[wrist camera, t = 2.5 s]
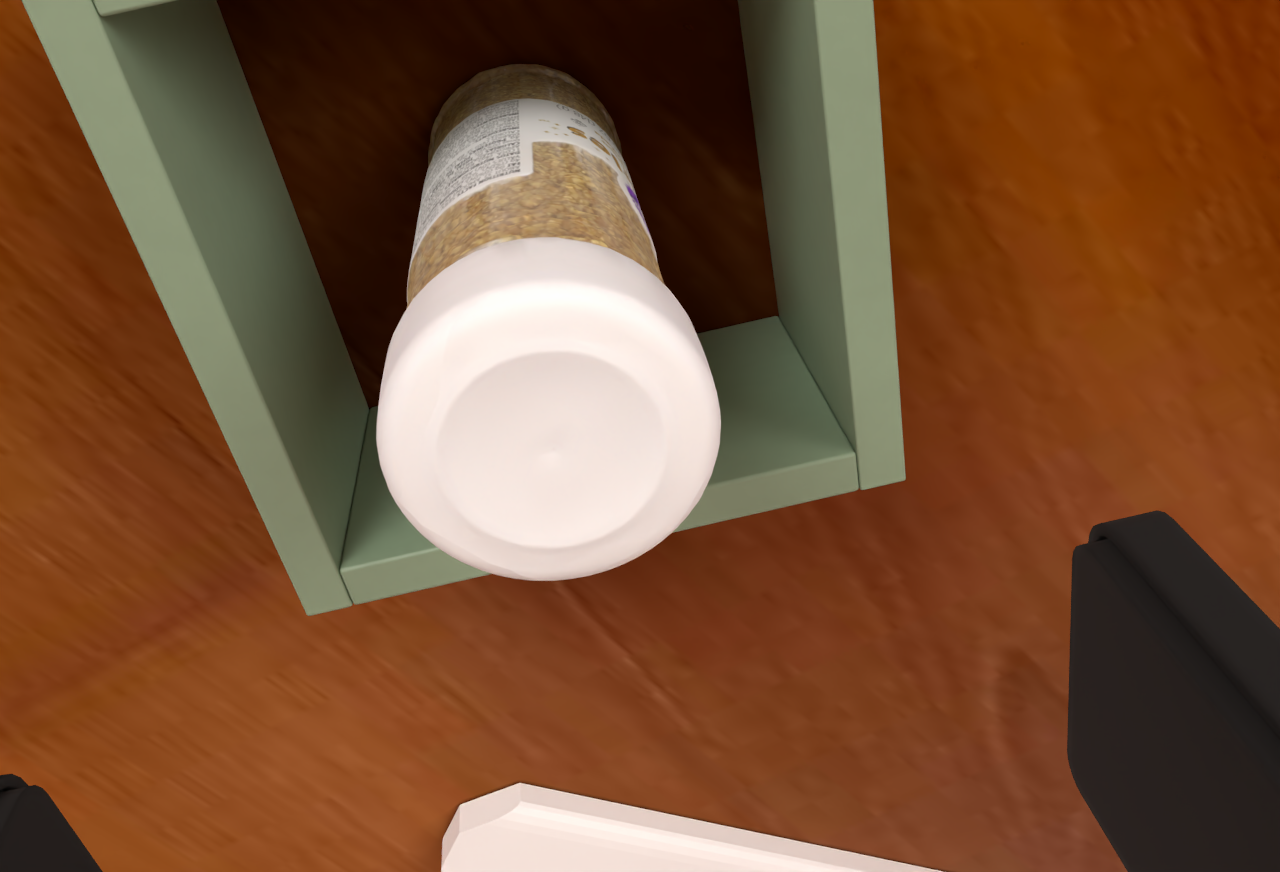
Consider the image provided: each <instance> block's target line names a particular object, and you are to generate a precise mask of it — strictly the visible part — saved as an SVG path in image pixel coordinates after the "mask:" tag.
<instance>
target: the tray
mask: <svg viewBox="0 0 1280 872" xmlns="http://www.w3.org/2000/svg"><path fill="white" fill-rule="evenodd" d="M441 872H943V871H938V870H934V869H929V868H924V867H919V866H915V865H910V864H905V863H900V862H895V861H891V860H886V859H881V858H876V857H872V856H867V855H862V854H857V853H852V852H848V851H843V850H838V849H833V848H829V847H824V846H819V845H814V844H810V843H805V842H800V841H795V840H790V839H786V838H781V837H776V836H771V835H767V834H762V833H757V832H752V831H748V830H743V829H738V828H733V827H728V826H724V825H719V824H714V823H709V822H705V821H700V820H695V819H690V818H685V817H681V816H676V815H671V814H666V813H662V812H657V811H652V810H647V809H643V808H638V807H633V806H628V805H623V804H619V803H614V802H609V801H604V800H600V799H595V798H590V797H585V796H581V795H576V794H571V793H566V792H561V791H557V790H552V789H547V788H542V787H538V786H533V785H528V784H523V783H518V784H515V785H512V786H510V787H507V788H504V789H501V790H499V791H496V792H493V793H490V794H488V795H485V796H482V797H479V798H477V799H474V800H471V801H469V802H466V803H463V804H460V806H459V808H458V810H457V811H456V813H455V815H454V817H453V819H452V821H451V823H450V825H449V827H448V829H447V831H446V833H445V835H444V837H443V841H442V866H441Z"/></svg>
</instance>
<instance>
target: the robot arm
mask: <svg viewBox="0 0 1280 872" xmlns="http://www.w3.org/2000/svg"><path fill="white" fill-rule="evenodd" d="M1067 752H1068V760H1069V765H1070V769H1071V772H1072V775H1073V778H1074V780H1075V783H1076V785H1077V787H1078V789H1079V791H1080V793H1081V795H1082V796H1083V798H1084V800H1085V801H1086V803H1087V805H1088V806H1089V808H1090V810H1091V811H1092V813H1093V815H1094V816H1095V818H1096V820H1097V821H1098V823H1099V825H1100V826H1101V828H1102V830H1103V831H1104V833H1105V835H1106V836H1107V838H1108V840H1109V841H1110V843H1111V845H1112V846H1113V848H1114V850H1115V851H1116V853H1117V854H1118V856H1119V858H1120V859H1121V861H1122V863H1123V864H1124V866H1125V868H1126V869H1127V871H1128V872H1280V629H1279V628H1278V627H1277V626H1276V625H1275V624H1274V623H1273V622H1272V621H1271V620H1270V619H1269V617H1268V616H1267V615H1266V614H1265V613H1264V612H1263V611H1262V610H1261V609H1260V608H1259V607H1258V606H1257V605H1256V604H1255V603H1254V602H1253V601H1252V600H1251V599H1250V598H1249V597H1248V596H1247V595H1246V594H1245V593H1244V592H1243V591H1242V590H1241V589H1240V588H1239V586H1238V585H1237V584H1236V583H1235V582H1234V581H1233V580H1232V579H1231V578H1230V577H1229V576H1228V575H1227V574H1226V573H1225V572H1224V571H1223V570H1222V569H1221V568H1220V567H1219V566H1218V565H1217V564H1216V563H1215V562H1214V561H1213V560H1212V559H1211V558H1210V557H1209V555H1208V554H1207V553H1206V552H1205V551H1204V550H1203V549H1202V548H1201V547H1200V546H1199V545H1198V544H1197V543H1196V542H1195V541H1194V540H1193V539H1192V538H1191V537H1190V536H1189V535H1188V534H1187V533H1186V532H1185V531H1184V530H1183V529H1182V528H1181V527H1180V526H1179V524H1178V523H1177V522H1176V521H1175V520H1174V519H1172V518H1171V517H1170V516H1169V515H1167V514H1166V513H1165V512H1161V511H1153V512H1149V513H1144V514H1140V515H1136V516H1131V517H1127V518H1122V519H1118V520H1114V521H1109V522H1105V523H1101V524H1098V525H1095V526H1093V528H1092V530H1091V532H1090V535H1089V541H1088V543H1087V544H1083V545H1079V546H1077V547H1076V548H1075V550H1074V551H1073V558H1072V592H1071V629H1070V667H1069V705H1068V742H1067ZM0 872H102V870H101V869H100V867H99V866H98V865H97V863H96V862H95V860H94V859H93V858H92V856H91V855H90V853H89V852H88V850H87V849H86V848H85V846H84V845H83V843H82V842H81V840H80V839H79V838H78V836H77V835H76V833H75V832H74V830H73V829H72V828H71V826H70V825H69V823H68V822H67V821H66V819H65V818H64V816H63V815H62V813H61V812H60V811H59V809H58V808H57V806H56V805H55V803H54V802H53V801H52V799H51V798H50V796H49V795H48V794H47V793H46V792H45V790H44V789H43V788H41V787H39V786H36V785H33V786H28V785H27V784H26V783H25V782H24V781H23V780H22V778H20V777H18V776H15V775H13V774H7V775H0Z"/></svg>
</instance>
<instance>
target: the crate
mask: <svg viewBox="0 0 1280 872" xmlns="http://www.w3.org/2000/svg"><path fill="white" fill-rule="evenodd" d="M22 2H23V4H24V7H25V9H26V11H27V13H28V15H29V17H30V19H31V22H32V24H33V26H34V28H35V30H36V32H37V35H38V37H39V39H40V41H41V43H42V45H43V47H44V50H45V52H46V54H47V56H48V58H49V60H50V63H51V65H52V67H53V69H54V71H55V73H56V75H57V78H58V80H59V82H60V84H61V86H62V88H63V91H64V93H65V95H66V97H67V99H68V101H69V103H70V106H71V108H72V110H73V112H74V114H75V116H76V119H77V121H78V123H79V125H80V127H81V129H82V131H83V134H84V136H85V138H86V140H87V142H88V144H89V147H90V149H91V151H92V153H93V155H94V157H95V159H96V162H97V164H98V166H99V168H100V170H101V172H102V175H103V177H104V179H105V181H106V183H107V185H108V187H109V190H110V192H111V194H112V196H113V198H114V200H115V203H116V205H117V207H118V209H119V211H120V213H121V215H122V218H123V220H124V222H125V224H126V226H127V228H128V231H129V233H130V235H131V237H132V239H133V241H134V243H135V246H136V248H137V250H138V252H139V254H140V256H141V259H142V261H143V263H144V265H145V267H146V269H147V271H148V274H149V276H150V278H151V280H152V282H153V284H154V286H155V289H156V291H157V293H158V295H159V297H160V299H161V302H162V304H163V306H164V308H165V310H166V312H167V314H168V317H169V319H170V321H171V323H172V325H173V327H174V330H175V332H176V334H177V336H178V338H179V340H180V342H181V345H182V347H183V349H184V351H185V353H186V355H187V358H188V360H189V362H190V364H191V366H192V368H193V370H194V373H195V375H196V377H197V379H198V381H199V383H200V386H201V388H202V390H203V392H204V394H205V396H206V398H207V401H208V403H209V405H210V407H211V409H212V411H213V414H214V416H215V418H216V420H217V422H218V424H219V426H220V429H221V431H222V433H223V435H224V437H225V439H226V442H227V444H228V446H229V448H230V450H231V452H232V454H233V457H234V459H235V461H236V463H237V465H238V467H239V470H240V472H241V474H242V476H243V478H244V480H245V482H246V485H247V487H248V489H249V491H250V493H251V495H252V498H253V500H254V502H255V504H256V506H257V508H258V510H259V513H260V515H261V517H262V519H263V521H264V523H265V526H266V528H267V530H268V532H269V534H270V536H271V538H272V541H273V543H274V545H275V547H276V549H277V551H278V554H279V556H280V558H281V560H282V562H283V564H284V566H285V569H286V571H287V573H288V575H289V577H290V579H291V582H292V584H293V586H294V588H295V590H296V592H297V594H298V597H299V599H300V601H301V603H302V605H303V607H304V610H305V612H306V614H307V615H308V616H311V615H316V614H320V613H325V612H329V611H333V610H338V609H342V608H347V607H350V606H352V604H353V603H354V604H362V603H366V602H370V601H375V600H379V599H384V598H388V597H392V596H397V595H401V594H405V593H410V592H414V591H419V590H423V589H427V588H432V587H436V586H441V585H445V584H449V583H454V582H458V581H463V580H467V579H471V578H476V577H480V576H484V575H489V574H492V573H488V572H485V571H481V570H479V569H477V568H474V567H472V566H470V565H467V564H465V563H463V562H461V561H459V560H457V559H455V558H453V557H452V556H450V555H448V554H447V553H445V552H444V551H442V550H441V549H439V548H438V547H436V546H435V545H434V544H432V543H431V542H430V541H429V540H428V539H427V538H425V537H424V536H423V535H422V534H421V533H420V532H419V531H418V530H417V529H416V528H415V527H414V526H413V525H412V524H411V523H410V521H409V520H408V519H407V518H406V517H405V515H404V514H403V513H402V511H401V510H400V508H399V507H398V505H397V504H396V502H395V500H394V499H393V497H392V495H391V493H390V491H389V489H388V486H387V483H386V480H385V478H384V475H383V472H382V469H381V466H380V461H379V455H378V449H377V441H376V428H377V415H378V406H375V407H372V408H370V410H369V407H368V405H367V402H366V399H365V397H364V394H363V391H362V389H361V386H360V383H359V381H358V378H357V375H356V373H355V370H354V367H353V365H352V362H351V359H350V357H349V354H348V351H347V348H346V346H345V343H344V340H343V338H342V335H341V332H340V330H339V327H338V324H337V322H336V319H335V316H334V314H333V311H332V308H331V306H330V303H329V300H328V298H327V295H326V292H325V290H324V287H323V284H322V282H321V279H320V276H319V274H318V271H317V268H316V266H315V263H314V260H313V258H312V255H311V252H310V249H309V247H308V244H307V241H306V239H305V236H304V233H303V231H302V228H301V225H300V223H299V220H298V217H297V215H296V212H295V209H294V207H293V204H292V201H291V199H290V196H289V193H288V191H287V188H286V185H285V183H284V180H283V177H282V175H281V172H280V169H279V167H278V164H277V161H276V159H275V156H274V153H273V150H272V148H271V145H270V142H269V140H268V137H267V134H266V132H265V129H264V126H263V124H262V121H261V118H260V116H259V113H258V110H257V108H256V105H255V102H254V100H253V97H252V94H251V92H250V89H249V86H248V84H247V81H246V78H245V76H244V73H243V70H242V68H241V65H240V62H239V60H238V57H237V54H236V51H235V49H234V46H233V43H232V41H231V38H230V35H229V33H228V30H227V27H226V25H225V22H224V19H223V17H222V14H221V11H220V9H219V6H218V3H217V1H216V0H22ZM738 7H739V15H740V23H741V30H742V38H743V46H744V53H745V61H746V68H747V76H748V84H749V91H750V99H751V106H752V114H753V122H754V129H755V137H756V145H757V152H758V160H759V167H760V175H761V183H762V190H763V198H764V206H765V213H766V221H767V228H768V236H769V244H770V251H771V259H772V266H773V274H774V282H775V289H776V297H777V305H778V312H779V317H778V316H773V317H769V318H764V319H760V320H755V321H751V322H746V323H742V324H738V325H733V326H729V327H724V328H720V329H716V330H711V331H707V332H702V333H698V334H697V336H698V339H699V341H700V343H701V346H702V348H703V351H704V353H705V356H706V359H707V361H708V364H709V367H710V370H711V373H712V377H713V380H714V384H715V387H716V391H717V396H718V402H719V407H720V416H721V432H720V445H719V450H718V455H717V458H716V462H715V465H714V468H713V472H712V475H711V477H710V479H709V482H708V484H707V486H706V488H705V490H704V492H703V495H702V496H701V498H700V500H699V501H698V503H697V504H696V505H695V507H694V508H693V509H692V511H691V512H690V514H689V515H688V516H687V517H686V518H685V520H684V521H683V522H682V523H681V524H680V525H679V526H678V527H677V528H676V529H675V530H674V531H673V532H677V531H682V530H686V529H691V528H695V527H699V526H704V525H708V524H713V523H717V522H721V521H726V520H730V519H734V518H739V517H743V516H748V515H752V514H756V513H761V512H765V511H770V510H774V509H778V508H783V507H787V506H791V505H796V504H800V503H805V502H809V501H813V500H818V499H822V498H827V497H831V496H835V495H840V494H844V493H849V492H853V491H856V490H858V488H860V489H861V490H865V489H870V488H874V487H878V486H883V485H887V484H892V483H896V482H900V481H904V480H905V479H906V475H905V461H904V446H903V431H902V417H901V402H900V387H899V373H898V358H897V343H896V329H895V314H894V299H893V285H892V270H891V255H890V241H889V226H888V211H887V197H886V182H885V167H884V153H883V138H882V123H881V109H880V94H879V79H878V65H877V50H876V35H875V21H874V6H873V0H738ZM673 532H672V533H673Z"/></svg>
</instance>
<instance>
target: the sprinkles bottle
mask: <svg viewBox="0 0 1280 872" xmlns="http://www.w3.org/2000/svg"><path fill="white" fill-rule="evenodd" d="M428 165H429V168H428V170H427V174H426V178H425V181H424V186H423V192H422V198H421V204H420V210H419V216H418V221H417V227H416V233H415V239H414V245H413V250H412V256H411V262H410V268H409V275H408V282H407V304H408V305H407V309H406V311H405V312H404V314H403V316H402V318H401V320H400V322H399V324H398V326H397V328H396V330H395V331H394V333H393V336H392V339H391V342H390V345H389V347H388V352H387V356H386V361H385V366H384V372H383V377H382V383H381V389H380V397H379V404H378V415H377V428H376V441H377V449H378V455H379V461H380V466H381V469H382V472H383V475H384V478H385V480H386V483H387V486H388V489H389V491H390V493H391V495H392V497H393V499H394V500H395V502H396V504H397V505H398V507H399V508H400V510H401V511H402V513H403V514H404V515H405V517H406V518H407V519H408V520H409V521H410V523H411V524H412V525H413V526H414V527H415V528H416V529H417V530H418V531H419V532H420V533H421V534H422V535H423V536H424V537H425V538H427V539H428V540H429V541H430V542H431V543H432V544H434V545H435V546H436V547H438V548H439V549H441V550H442V551H444V552H445V553H447V554H448V555H450V556H452V557H453V558H455V559H457V560H459V561H461V562H463V563H465V564H467V565H470V566H472V567H474V568H477V569H479V570H481V571H485V572H488V573H492V574H495V575H499V576H504V577H509V578H514V579H523V580H531V581H557V580H566V579H574V578H580V577H585V576H590V575H594V574H597V573H601V572H604V571H607V570H610V569H613V568H615V567H618V566H621V565H623V564H625V563H627V562H629V561H631V560H633V559H635V558H637V557H639V556H640V555H642V554H644V553H645V552H647V551H649V550H650V549H652V548H653V547H655V546H656V545H657V544H659V543H660V542H661V541H663V540H664V539H665V538H666V537H667V536H668V535H670V534H671V533H672V532H673V531H674V530H675V529H676V528H677V527H678V526H679V525H680V524H681V523H682V522H683V521H684V520H685V518H686V517H687V516H688V515H689V514H690V512H691V511H692V509H693V508H694V507H695V505H696V504H697V503H698V501H699V500H700V498H701V496H702V495H703V492H704V490H705V488H706V486H707V484H708V482H709V479H710V477H711V475H712V472H713V468H714V465H715V462H716V458H717V455H718V450H719V445H720V432H721V416H720V407H719V402H718V396H717V391H716V387H715V384H714V380H713V377H712V373H711V370H710V367H709V364H708V361H707V359H706V356H705V353H704V351H703V348H702V346H701V343H700V341H699V339H698V336H697V334H696V332H695V329H694V327H693V325H692V322H691V320H690V318H689V316H688V315H687V313H686V312H685V310H684V309H683V307H682V306H681V304H680V303H679V302H678V300H677V299H676V298H675V296H674V295H673V294H672V292H671V291H670V290H669V289H668V288H667V287H666V286H665V285H664V282H663V279H662V276H661V273H660V270H659V266H658V263H657V256H656V251H655V248H654V245H653V242H652V238H651V236H650V233H649V230H648V227H647V225H646V222H645V219H644V216H643V213H642V211H641V208H640V205H639V202H638V199H637V196H636V193H635V190H634V186H633V183H632V180H631V177H630V175H629V172H628V169H627V167H626V164H625V162H624V160H623V158H622V149H621V144H620V140H619V137H618V135H617V132H616V128H615V125H614V122H613V120H612V118H611V116H610V115H609V113H608V112H607V110H606V108H605V107H604V105H603V104H602V103H601V102H600V101H599V99H598V98H597V97H596V96H595V95H594V94H593V93H592V92H591V91H590V90H589V89H588V88H587V87H586V86H584V85H583V84H581V83H580V82H579V81H577V80H576V79H575V78H573V77H571V76H570V75H568V74H567V73H565V72H562V71H559V70H556V69H552V68H549V67H546V66H542V65H537V64H529V65H527V64H511V65H506V66H499V67H497V68H493V69H489V70H486V71H482V72H479V73H478V74H476V75H475V76H474V77H473V78H471V79H470V80H469V81H468V82H466V83H465V84H463V85H462V86H460V87H459V88H458V89H457V90H456V91H455V92H454V93H453V94H452V95H451V96H450V97H449V99H448V100H447V101H446V102H445V103H444V104H443V106H442V108H441V110H440V112H439V115H438V116H437V118H436V119H435V122H434V124H433V127H432V130H431V137H430V145H429V151H428Z"/></svg>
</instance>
